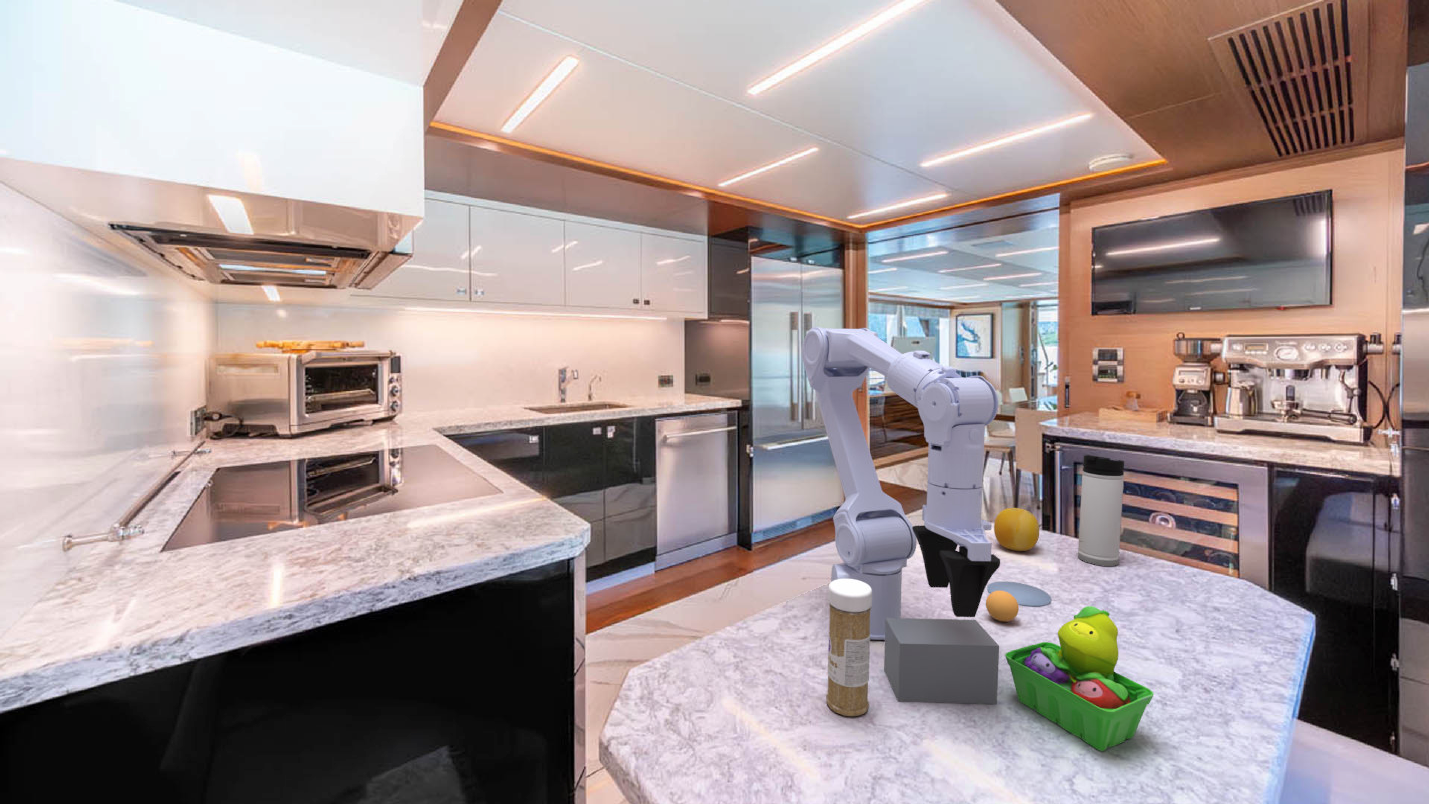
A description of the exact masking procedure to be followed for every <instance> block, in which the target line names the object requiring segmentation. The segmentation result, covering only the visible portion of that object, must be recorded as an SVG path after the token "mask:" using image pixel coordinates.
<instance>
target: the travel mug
mask: <svg viewBox="0 0 1429 804" xmlns="http://www.w3.org/2000/svg"><path fill="white" fill-rule="evenodd" d="M1082 466H1083V467H1082V476H1081V492H1080V493H1081V494H1080V509H1079V511H1080V513H1079V514H1080V515H1079V531H1078V550H1077V552H1078V553H1077V557H1078V559H1079V560H1081V561H1082V560H1083V562H1084V561H1085V562H1084V563H1087V562H1088V563H1087V564H1090V563H1092V564H1091V565H1094V564H1095V566H1099V565H1104V566H1103V567H1115V565H1116V566H1117V565H1119V563H1120V562H1119V561H1120V546H1121V545H1120V544H1121V532H1122V531H1121V528H1122V527H1121V526H1122V514H1123V499H1124V498H1123V496H1124V495H1123V494H1124V477H1125V474H1124V472H1125V471H1124V469H1125V468H1124V467H1125V461H1124V460H1121V459H1119V460H1114V459H1111V458H1109V457H1104V456H1103V457H1101V456H1096V455H1090V454H1085V455H1083V464H1082Z"/></svg>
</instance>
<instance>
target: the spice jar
mask: <svg viewBox="0 0 1429 804" xmlns="http://www.w3.org/2000/svg"><path fill="white" fill-rule="evenodd" d="M827 590H828V591H827V592H828V593H827V599H828V600H827V601H828V604H829V627H828V629H829V631H828V652H827V653H828V655H827V657H828V658H827V675H828V676H827V694H826V703H827V706H828V707H829V708H830V710H832V711H833V712H835V713H836V714H840V715H841V716H847V717H857V716H862V715H863V714H866V712H868V709H869V706H870V704H869V699H868V695H869V693H868V691H869V678H870V654H871V653H870V650H871V649H870V648H871V639H870V610H871V606H872V589H871V587H870V586H869V585H868V584H866V583H864V582H862V581H859V580H855V579H837V580H834V581H832V582H831V581H830V582H829V584H828V589H827Z"/></svg>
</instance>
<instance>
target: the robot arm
mask: <svg viewBox="0 0 1429 804" xmlns="http://www.w3.org/2000/svg"><path fill="white" fill-rule="evenodd" d="M806 333H807V334H806V335H805V337H804V340H803V344H802V345H803V346H802V351H801V359H802V362H803V366H804V369H805V373H806V376H807V380H808V383H809V386H810V388H812V389H813V390H814V391H815V395H816V401H817V404H818V408H819V411H820V414H821V417H822V420H823V425H824V428H825V432H826V435H827V439H828V442H829V446H830V449H831V453H832V457H833V460H834V463H835V466H836V470H837V474H838V478H839V481H840V484H841V488H842V491H843V494H844V499H845V500H844V502H843V503H842V504H841V505H840V506H839V508H838V509H837V511H836V512H835V513H834V515H833V517H832V520H833V524H834V531H835V533H834V534H835V537H834V542H835V548H836V551H837V554H838V556H839V557H840V559H841V561H842V562H839V563H833V564H832V566H831V574H830V577H831V578H830V583H831V582H832V581H834V580H837V579H855V580H859V581H862V582H864V583H866V584H868V585H869V586H870V587H871V589H872V606H871V610H870V640H876V641H877V640H878V641H879V640H880V641H881V640H883V641H885V618H902V617H901V614H902V613H901V611H902V610H901V609H902V579H903V578H902V577H903V576H902V575H903V568H907V566H908V565H907V563H908V562H907V561H908V560H909V559H911V558H912V557H913V556H914V554H915V552H916V549H917V542H918V545H919V548H920V552H921V554H922V560H923V563H924V564H923V565H924V569H925V574H926V580H927V583H928V586H929V587H930V588H943V589H944V588H945V589H947V588H949V590H950V591H949V594H950V602H951V609H952V613H953V615H954V616H955V617H957V618H975V617H976V616H977V612H978V609H979V607H980V603H981V600H982V598H983V594H984V591H985V589H986V588H987V587H986V586H988V583H989V581H990V579H992V576H993V575H994V574H995V572H997V570H998V569H999V568H1000V566H1001V559H1000V558H999V557H998V556H997V555H995V554H994V553H992V545H993V544H992V542H991V541H989V540H988V538H987V536H986V535H987V534H986V532H985V531H991V530H992V523H991V522H990V521H988V520H985V519H982V509H983V508H982V506H983V486H984V485H983V482H984V459H985V457H984V455H985V433H986V431H985V430H986V429H985V428H986V427H987V426H988V425H990V424H991V423H992V422H993V421H994V419H996V418H995V417H996V416H997V413H998V409H999V397H998V392H997V391H996V388H995V387H994V386H993V384H992V383H991V382H990V381H988V380H987V379H985V377H984V376H982V375H970V376H967V377H962V375H960V374H959V373H957V369H956V368H955V367H953V366H951V365H949V366H948V365H943V364H940V363H939V362H936V361H935V360H932V359H931V357H930V356H931V353H930V352H928V351H925V350H914V351H906V352H905V353H902V352H900V351H898V350H897V349H895V348H894V347H892V346H891V345H890V344H888V343H887V342H885V341H883V340H882V339H880V338H879V336H878V333H877V331H872V330H871V329H869V328H867V327H860V328H831V327H830V328H826V327H819V326H814V327H811V328H810V329H809V330H808V332H806ZM870 369H871V370H873V371H875V372H877V373H879V374H880V375H883V376H884V377H886V383H887V386H888V388H889V389H890V391H892V392H893V393H894V394H896V395H898V397H900V398H902V399H904V401H906V402H908V403H909V404H911V405H913V406H914V407H915V408H917V410H918V414H919V417H920V420H921V421H922V423H923V428H924V429H923V430H924V432H923V435H924V436H923V437H924V438H925V441H926V443H928V451H927V453H928V455H927V456H928V457H927V458H928V459H927V482H926V483H927V484H926V485H927V486H926V487H927V488H926V504H922V511H921V515H922V516H921V519H922V521H923V523H924V524H923V525H912V523H911V521H910V520H909V518H908V517H907V515H906V513H905V512H904V509H903V506H902V504H901V503H900V502H899V501H898V500H896V499H895V498H893V497H891V496H890V495H888V494H887V493H885V492H884V491H883V490H882V486H881V482H880V479H879V477H878V473H877V471H876V467H875V463H874V460H873V458H872V455H871V451H870V448H869V445H868V442H867V438H866V435H865V432H864V429H863V425H862V422H861V420H860V416H859V413H858V410H857V407H856V404H855V401H854V397H853V393H854V391H855V390H857V389H858V388H860V387H861V386H862V384H863V383H864V381H865V379H866V378H867V374H868V373H869V371H870ZM957 547H958V550H957ZM948 586H949V587H948Z"/></svg>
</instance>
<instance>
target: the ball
mask: <svg viewBox="0 0 1429 804" xmlns="http://www.w3.org/2000/svg"><path fill="white" fill-rule="evenodd" d="M985 607H986V611H987V612H988V614H989V615H990V616H991V617H992V618H993V619H995V620H997V621H999V622H1003V623H1004V622H1005V623H1006V622H1010V621H1012V620H1014V619H1016V617H1017V616H1018V614H1019V610H1020V609H1019V608H1020V605H1018V603H1017V601H1016V599H1015V598H1014V597H1013V596H1012V595H1011V594H1010V593H1008V592H1005V591H994V592H992V593H991V594H990V593H989V595H988V596H987V598H986V600H985Z"/></svg>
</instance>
